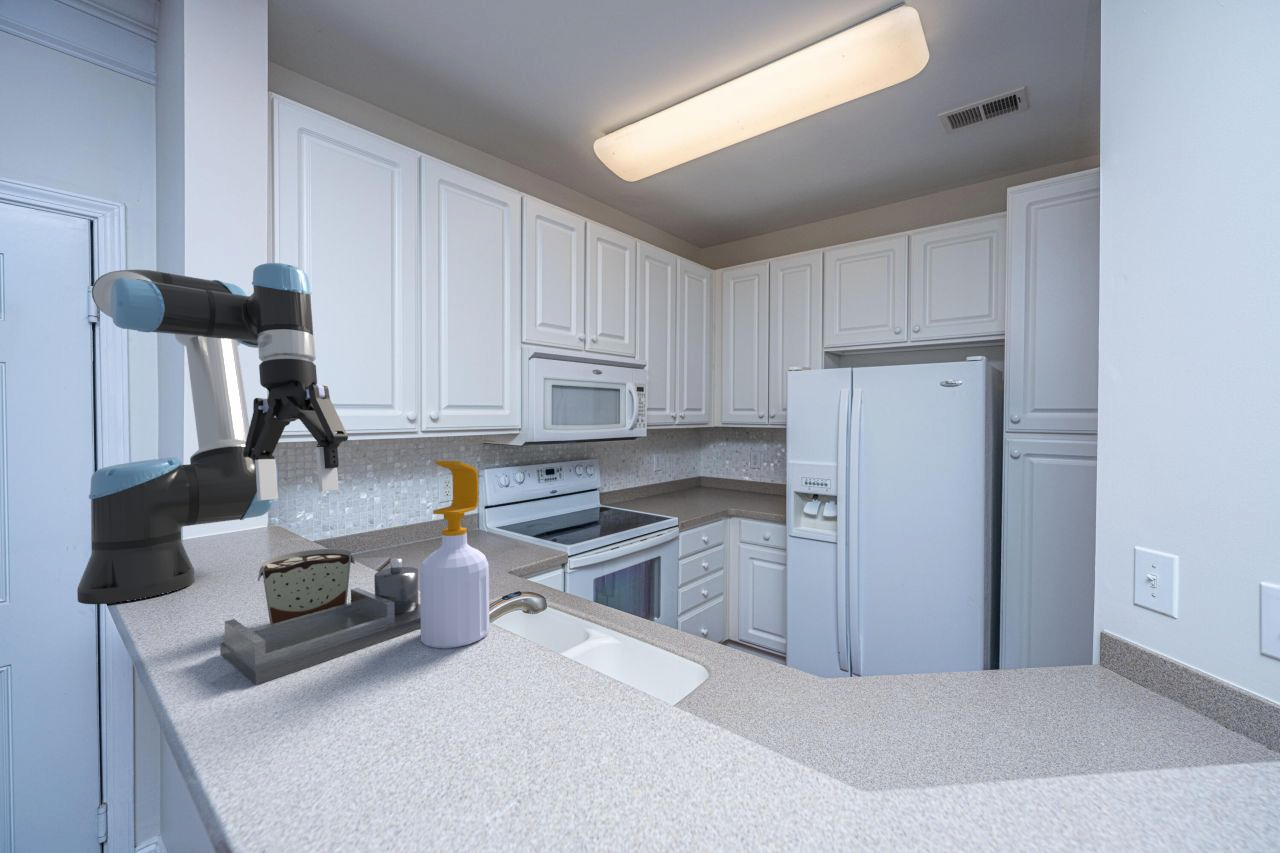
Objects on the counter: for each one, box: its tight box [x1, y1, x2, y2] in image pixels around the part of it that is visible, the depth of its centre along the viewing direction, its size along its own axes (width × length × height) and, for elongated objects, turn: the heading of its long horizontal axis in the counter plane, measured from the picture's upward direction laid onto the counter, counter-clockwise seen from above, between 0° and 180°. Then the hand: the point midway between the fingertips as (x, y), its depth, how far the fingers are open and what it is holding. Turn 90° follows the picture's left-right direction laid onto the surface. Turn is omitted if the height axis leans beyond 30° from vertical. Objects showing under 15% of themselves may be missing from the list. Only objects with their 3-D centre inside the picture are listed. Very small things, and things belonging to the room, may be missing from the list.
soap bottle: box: [419, 460, 491, 649], centre depth 72 cm, size 9×9×25 cm
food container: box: [257, 548, 356, 625], centre depth 79 cm, size 12×6×10 cm, turn 134°
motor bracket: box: [219, 557, 421, 686], centre depth 72 cm, size 13×23×9 cm, turn 143°
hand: (297, 495), depth 81 cm, fingers open, 13 cm apart
